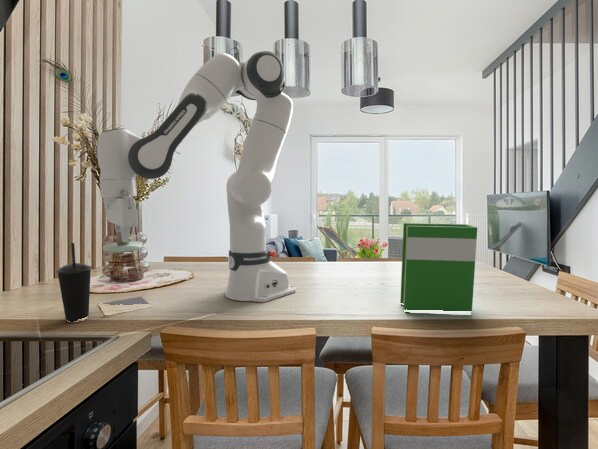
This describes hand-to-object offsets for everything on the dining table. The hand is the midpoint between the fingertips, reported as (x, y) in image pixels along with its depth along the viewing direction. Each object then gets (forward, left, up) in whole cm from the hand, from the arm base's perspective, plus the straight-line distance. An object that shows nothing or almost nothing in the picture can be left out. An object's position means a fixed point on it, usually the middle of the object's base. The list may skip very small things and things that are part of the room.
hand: (123, 240), depth 104 cm
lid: (0, 0, -2) cm, 2 cm away
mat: (0, 0, -19) cm, 19 cm away
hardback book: (-69, +53, -19) cm, 89 cm away
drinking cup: (+12, +4, -19) cm, 23 cm away
